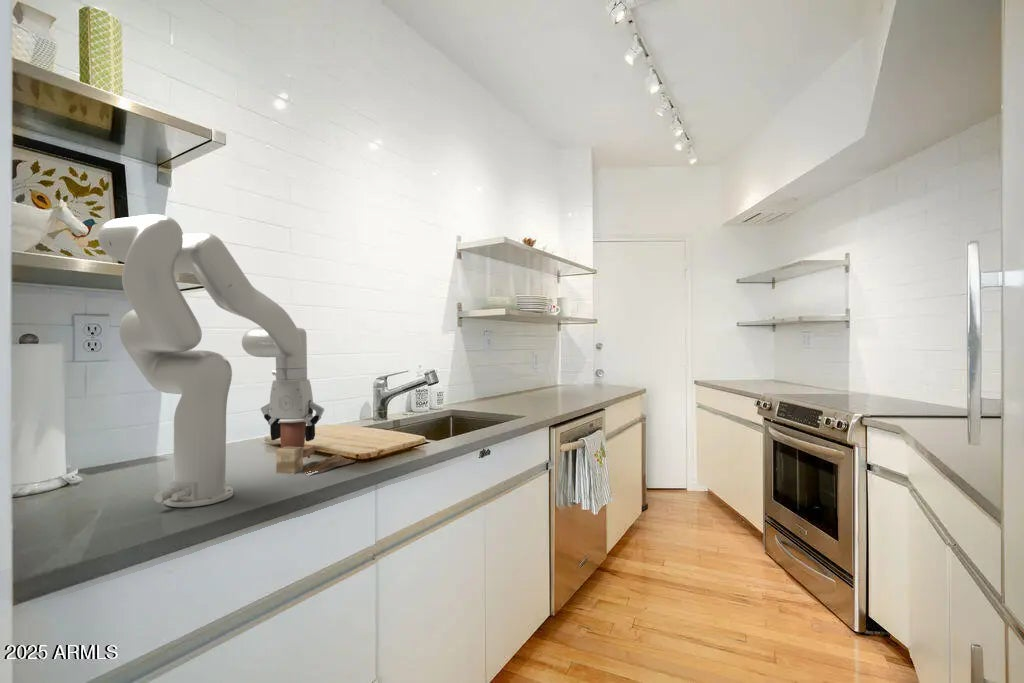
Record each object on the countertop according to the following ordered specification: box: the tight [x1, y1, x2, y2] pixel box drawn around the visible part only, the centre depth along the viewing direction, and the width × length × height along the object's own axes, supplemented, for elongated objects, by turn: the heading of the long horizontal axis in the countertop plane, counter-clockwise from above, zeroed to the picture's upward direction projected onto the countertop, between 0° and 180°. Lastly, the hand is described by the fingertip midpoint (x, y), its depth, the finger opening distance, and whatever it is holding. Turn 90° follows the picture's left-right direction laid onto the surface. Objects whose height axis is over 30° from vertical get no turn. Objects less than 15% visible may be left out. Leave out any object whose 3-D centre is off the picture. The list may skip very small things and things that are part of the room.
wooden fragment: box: [303, 454, 357, 474], centre depth 140 cm, size 26×11×1 cm, turn 167°
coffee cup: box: [278, 419, 307, 448], centre depth 155 cm, size 9×9×12 cm
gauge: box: [275, 445, 316, 474], centre depth 136 cm, size 12×5×6 cm, turn 171°
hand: (292, 439), depth 133 cm, fingers open, 9 cm apart
